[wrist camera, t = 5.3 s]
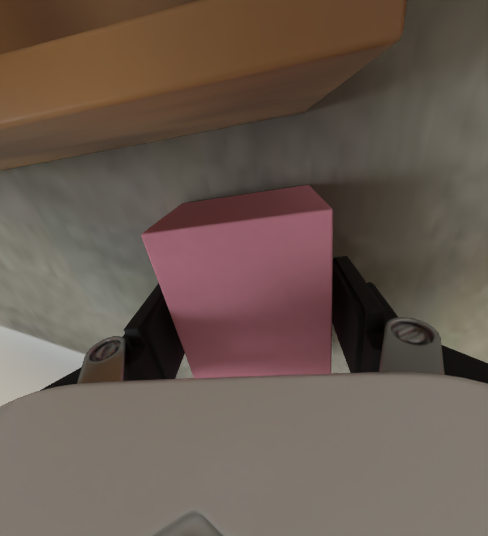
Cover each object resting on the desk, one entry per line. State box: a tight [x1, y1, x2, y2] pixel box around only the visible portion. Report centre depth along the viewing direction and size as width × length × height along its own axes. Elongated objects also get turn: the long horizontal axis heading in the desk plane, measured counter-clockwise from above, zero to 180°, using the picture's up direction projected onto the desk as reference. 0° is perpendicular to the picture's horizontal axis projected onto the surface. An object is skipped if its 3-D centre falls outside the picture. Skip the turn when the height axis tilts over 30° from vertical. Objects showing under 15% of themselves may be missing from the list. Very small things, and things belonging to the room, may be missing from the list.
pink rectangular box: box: [141, 185, 333, 378], centre depth 11 cm, size 9×6×4 cm, turn 9°
